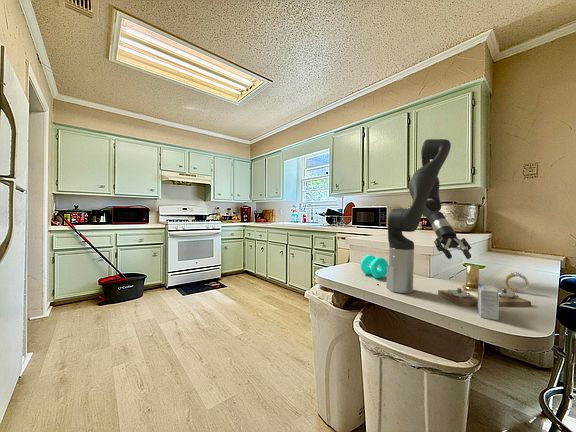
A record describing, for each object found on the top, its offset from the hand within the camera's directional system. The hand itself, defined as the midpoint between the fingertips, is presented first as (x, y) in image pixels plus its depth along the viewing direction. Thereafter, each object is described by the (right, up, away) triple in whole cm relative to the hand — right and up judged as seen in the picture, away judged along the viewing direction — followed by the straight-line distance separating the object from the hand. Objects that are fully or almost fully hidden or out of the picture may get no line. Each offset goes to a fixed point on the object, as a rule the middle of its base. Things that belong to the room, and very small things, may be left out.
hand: (459, 258), depth 110 cm
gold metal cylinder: (0, -12, -7) cm, 14 cm away
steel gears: (-5, -11, -18) cm, 22 cm away
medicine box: (-13, -13, -31) cm, 36 cm away
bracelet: (+17, -12, -8) cm, 23 cm away
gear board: (-5, -12, -18) cm, 22 cm away
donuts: (-34, -11, +13) cm, 38 cm away
